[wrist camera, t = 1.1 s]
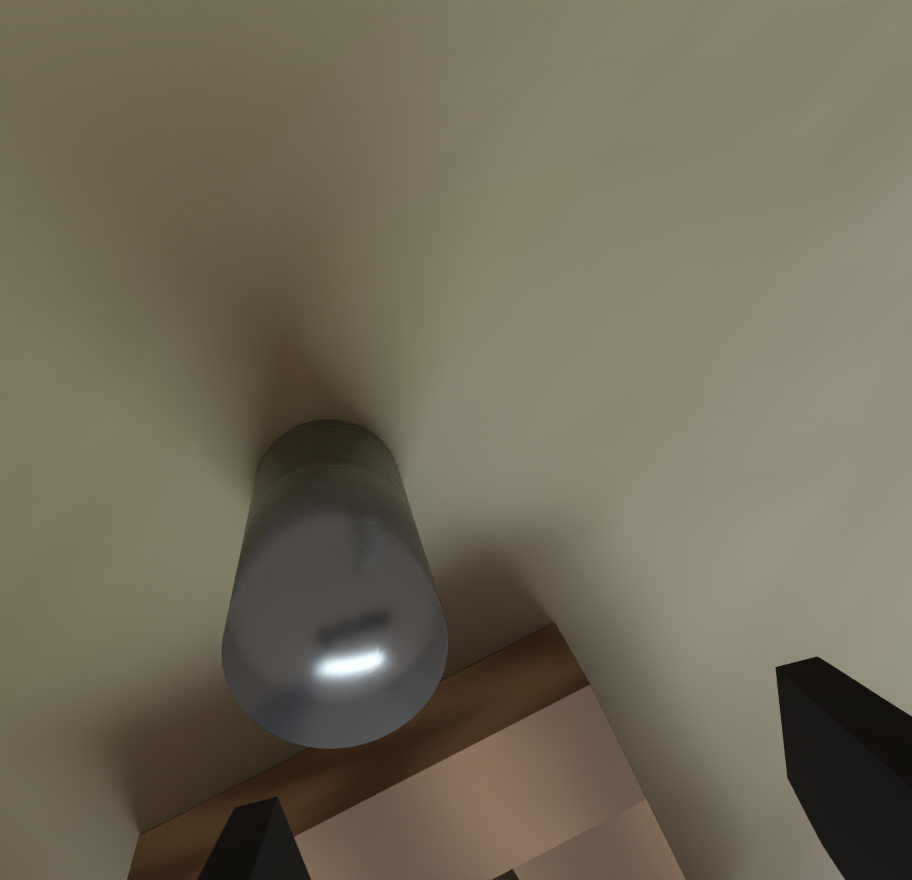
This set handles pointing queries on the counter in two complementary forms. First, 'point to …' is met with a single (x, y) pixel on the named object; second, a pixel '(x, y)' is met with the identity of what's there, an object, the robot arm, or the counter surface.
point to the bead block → (456, 789)
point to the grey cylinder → (332, 594)
